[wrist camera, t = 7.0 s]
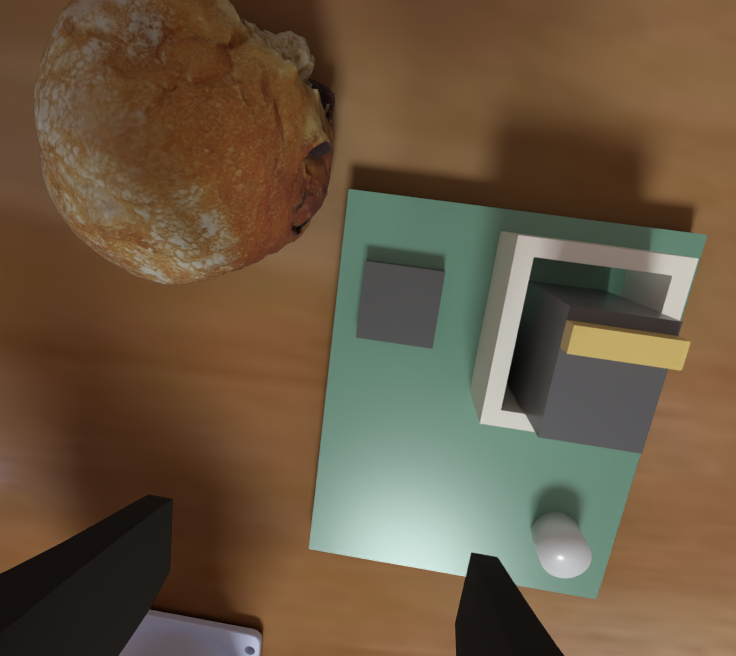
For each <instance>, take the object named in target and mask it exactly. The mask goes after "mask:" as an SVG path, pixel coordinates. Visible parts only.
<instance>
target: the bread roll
mask: <svg viewBox="0 0 736 656" xmlns="http://www.w3.org/2000/svg"><path fill="white" fill-rule="evenodd" d="M314 62H315V58H314V56H313V55H312V54H311V53H310V50H309V47H308V45H307V42H306V40H305V38H304V37H301V36H298V35H297V34H295V33H293V32H292V31H286V32H281V33H278V34H273V33H271V32H269V31H267V30H262V31H260V30H259V29H258V27H257V26H256V25H255V24H254V23H249V22H247V21H246V19H242V18H241V17H240V16H239V15H238V13H237V12H236V10H235V8H234V6H233V5H232V4H231V2H230V1H229V0H72V1H71V2H70V3H69V4H68V5H67V7H66V8H65V9H64V10H63V12H62V13H61V14H60V17H59V20H58V22H57V23H56V25H55V27H54V29H53V31H52V33H51V35H50V38H49V40H48V43H47V46H46V49H45V52H44V54H43V57H42V60H41V63H40V66H39V70H38V74H37V79H36V85H35V91H34V100H35V106H34V115H35V126H36V132H37V136H38V140H39V143H40V146H41V151H40V160H41V167H42V174H43V180H44V183H45V185H46V188H47V190H48V193H49V195H50V198H51V200H52V202H53V204H54V206H55V207H56V209H57V211H58V212H59V214H60V216H61V217H62V219H63V220H64V221H65V223H66V224H67V225H68V227H69V229H71V230H72V231H73V232H74V233H75V235H76V236H77V237H78V238H79V239H80V240H82V241H83V242H84V243H85V244H87V245H88V246H89V247H90V248H91V249H92V250H93V251H95V252H96V253H97V254H98V255H100V256H101V257H103V258H105V259H106V260H107V261H109V262H110V263H112V264H114V265H116V266H118V267H120V268H122V269H124V270H126V271H128V272H130V273H131V274H133V275H135V276H137V277H140V278H144V279H148V280H151V281H154V282H158V283H161V284H167V285H172V284H187V283H190V282H198V281H202V280H208V279H210V278H213V277H216V276H219V275H222V274H225V273H226V272H228V271H235V270H240V269H242V268H244V267H245V266H248V265H251V264H253V263H256V262H259V261H260V260H262V259H263V258H264V257H265V256H267V255H268V254H272V253H276V252H278V251H279V250H280V249H282V248H283V247H284V246H285V245H286V244H288V243H291V242H294V241H295V240H296V239H298V238H299V237H300V236H301V235H302V234H303V233H304V231H305V230H306V228H307V227H308V225H309V223H310V220H311V218H312V217H313V216H314V215H315V213H316V212H317V211H318V210H319V209H320V207H321V206H322V204H323V201H324V199H325V197H326V195H327V188H328V184H329V179H330V171H331V158H332V154H333V130H332V127H331V124H330V123H332V117H331V116H332V113H333V109H334V104H335V96H334V93H333V92H331V91H330V90H329V88H328V87H326V86H324V85H322V84H320V83H318V82H316V81H315V80H313V79H309V77H310V75H311V73H312V71H313V68H314Z"/></svg>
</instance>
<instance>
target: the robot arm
mask: <svg viewBox="0 0 736 656" xmlns="http://www.w3.org/2000/svg"><path fill="white" fill-rule="evenodd" d="M172 508H173V499H170V498H164V497H159V496H153V495H147V496H145V497H143V498H141V499H139V500H138V501H136V502H134V503H132V504H130V505H128V506H127V507H125V508H123V509H121V510H120V511H118V512H116V513H114V514H113V515H111V516H109V517H107V518H105V519H104V520H102V521H100V522H98V523H97V524H95V525H93V526H91V527H89V528H88V529H86V530H84V531H82V532H80V533H79V534H77V535H75V536H73V537H71V538H70V539H68V540H66V541H64V542H62V543H60V544H58V545H56V546H55V547H53V548H51V549H49V550H47V551H45V552H43V553H41V554H39V555H37V556H35V557H33V558H31V559H29V560H27V561H25V562H23V563H21V564H19V565H17V566H15V567H13V568H11V569H9V570H7V571H5V572H3V573H1V574H0V656H261V646H262V635H261V634H260V632H259V631H257V630H255V629H251V628H246V627H241V626H235V625H230V624H224V623H219V622H214V621H208V620H203V619H198V618H192V617H187V616H182V615H176V614H171V613H165V612H160V611H155V610H149V609H150V607H151V606H152V604H153V602H154V600H155V598H156V596H157V595H158V593H159V591H160V589H161V587H162V585H163V583H164V581H165V579H166V577H167V575H168V573H169V571H170V559H171V534H172ZM455 633H456V656H564V655H563V653H562V652H561V651H560V649H559V648H558V647H557V645H556V644H555V642H554V641H553V639H552V638H551V637H550V635H549V634H548V632H547V631H546V629H545V628H544V627H543V625H542V624H541V622H540V621H539V619H538V618H537V617H536V615H535V614H534V612H533V611H532V609H531V608H530V606H529V605H528V603H527V602H526V600H525V598H524V597H523V595H522V594H521V592H520V591H519V589H518V588H517V586H516V585H515V583H514V581H513V580H512V578H511V577H510V575H509V574H508V572H507V571H506V569H505V567H504V566H503V564H502V563H501V561H500V560H499V558H498V557H495V556H489V555H484V554H478V553H472V552H471V556H470V560H469V564H468V569H467V573H466V578H465V582H464V587H463V591H462V595H461V600H460V604H459V609H458V613H457V618H456V622H455ZM249 646H250V647H249ZM252 647H253V648H252Z"/></svg>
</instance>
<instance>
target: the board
mask: <svg viewBox="0 0 736 656" xmlns="http://www.w3.org/2000/svg"><path fill="white" fill-rule="evenodd" d="M500 231H504V232H511V233H519V234H527V235H534V236H542V237H550V238H557V239H565V240H573V241H580V242H588V243H595V244H603V245H611V246H618V247H626V248H634V249H641V250H649V251H655V252H661V253H667V254H674V255H680V256H686V257H692V258H698V263H697V266H696V269H695V273H694V276H693V279H692V282H691V286H690V289H689V292H688V296H687V299H686V302H685V305H684V309H683V312H682V315H681V319H680V321H681V320H682V317H683V314H684V310H685V307H686V304H687V300H688V297H689V294H690V291H691V287H692V284H693V281H694V278H695V274H696V271H697V268H698V264H699V261H700V258H701V255H702V251H703V248H704V245H705V241H706V238H707V235H704V234H696V233H689V232H681V231H673V230H665V229H657V228H650V227H642V226H634V225H626V224H618V223H611V222H603V221H595V220H587V219H579V218H572V217H564V216H556V215H548V214H540V213H533V212H525V211H517V210H509V209H501V208H494V207H486V206H478V205H470V204H462V203H455V202H447V201H439V200H431V199H423V198H415V197H408V196H400V195H392V194H384V193H376V192H369V191H361V190H353V189H349V191H348V200H347V209H346V218H345V227H344V236H343V245H342V254H341V263H340V272H339V281H338V290H337V299H336V308H335V317H334V327H333V336H332V345H331V354H330V363H329V372H328V381H327V390H326V399H325V408H324V417H323V426H322V435H321V444H320V453H319V462H318V471H317V480H316V490H315V499H314V508H313V517H312V526H311V535H310V544H309V549H312V550H318V551H323V552H329V553H335V554H340V555H346V556H352V557H358V558H363V559H369V560H375V561H380V562H386V563H392V564H398V565H403V566H409V567H415V568H420V569H426V570H432V571H438V572H443V573H449V574H455V575H460V576H466V573H467V569H468V564H469V560H470V556H471V552H472V553H478V554H484V555H489V556H495V557H498V558H499V560H500V561H501V563H502V564H503V566H504V567H505V569H506V571H507V572H508V574H509V575H510V577H511V578H512V580H513V581H514V583H515V585H518V586H523V587H529V588H535V589H540V590H546V591H552V592H558V593H563V594H569V595H575V596H580V597H586V598H592V599H597V595H598V592H599V589H600V585H601V582H602V579H603V576H604V572H605V569H606V566H607V563H608V559H609V556H610V553H611V549H612V546H613V543H614V540H615V536H616V533H617V530H618V526H619V523H620V520H621V517H622V513H623V510H624V507H625V504H626V500H627V497H628V494H629V490H630V487H631V484H632V481H633V477H634V474H635V471H636V468H637V464H638V461H639V458H640V453H634V452H628V451H621V450H615V449H609V448H602V447H596V446H590V445H583V444H577V443H571V442H564V441H558V440H552V439H545V438H539V437H538V436H537V435H536V433H535V432H531V431H524V430H518V429H512V428H505V427H499V426H492V425H486V424H480V422H479V419H478V416H477V413H476V410H475V407H474V404H473V400H472V397H471V394H470V386H471V381H472V376H473V370H474V365H475V360H476V355H477V350H478V345H479V339H480V334H481V329H482V324H483V319H484V314H485V309H486V303H487V298H488V293H489V288H490V283H491V278H492V272H493V267H494V262H495V257H496V252H497V247H498V242H499V236H500ZM626 272H627V269H620V268H612V267H605V266H597V265H590V264H582V263H575V262H567V261H560V260H552V259H545V258H537V257H534V258H533V263H532V268H531V272H530V277H529V280H530V281H537V282H545V283H552V284H559V285H566V286H573V287H581V288H588V289H595V290H602V291H608V292H611V293H613V294H616V295H618V296H620V295H621V291H622V287H623V283H624V280H625V276H626Z"/></svg>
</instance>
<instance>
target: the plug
mask: <svg viewBox="0 0 736 656" xmlns="http://www.w3.org/2000/svg"><path fill="white" fill-rule="evenodd" d="M681 325H682V321H679V320H677V319H674V318H672V317H670V316H667V315H665V314H662V313H660V312H657V311H655V310H652V309H650V308H647V307H645V306H643V305H640V304H638V303H635V302H633V301H630V300H628V299H625V298H623V297H620V296H618V295H616V294H613V293H611V292H608V291H602V290H595V289H588V288H581V287H573V286H566V285H559V284H552V283H545V282H537V281H530V280H529V282H528V286H527V291H526V296H525V300H524V305H523V310H522V314H521V319H520V324H519V328H518V333H517V338H516V342H515V347H514V352H513V356H512V361H511V365H510V370H509V375H508V379H507V382H508V384H509V386H510V388H511V390H512V391H513V393H514V395H515V397H516V399H517V400H518V402H519V404H520V406H521V408H522V409H523V411H524V413H525V415H526V417H527V418H528V420H529V422H530V424H531V426H532V427H533V429H534V431H535V433H536V435H537V436H538V437H539V438H545V439H552V440H558V441H564V442H571V443H577V444H583V445H590V446H596V447H602V448H609V449H615V450H621V451H628V452H634V453H640V454H642V451H643V448H644V445H645V442H646V438H647V435H648V432H649V429H650V425H651V422H652V419H653V416H654V412H655V409H656V406H657V403H658V399H659V396H660V393H661V390H662V387H663V383H664V380H665V377H666V374H667V370H668V369H674V370H680V371H682V368H683V365H684V362H685V359H686V356H687V352H688V349H689V346H690V343H691V342H690V341H688V340H686V339H684V338H681V337H679V336H678V335H679V331H680V328H681Z"/></svg>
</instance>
